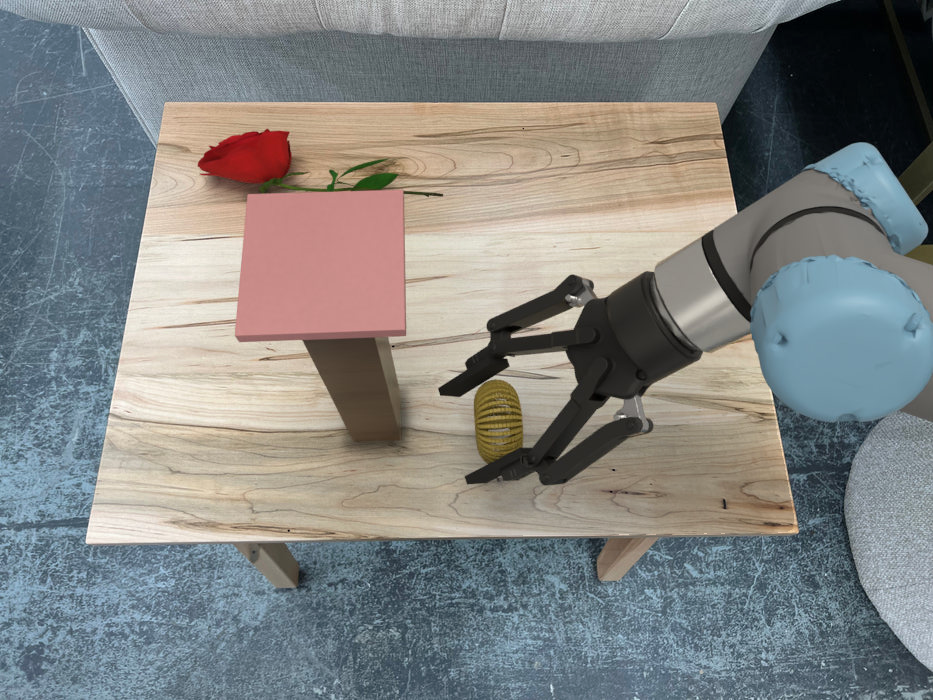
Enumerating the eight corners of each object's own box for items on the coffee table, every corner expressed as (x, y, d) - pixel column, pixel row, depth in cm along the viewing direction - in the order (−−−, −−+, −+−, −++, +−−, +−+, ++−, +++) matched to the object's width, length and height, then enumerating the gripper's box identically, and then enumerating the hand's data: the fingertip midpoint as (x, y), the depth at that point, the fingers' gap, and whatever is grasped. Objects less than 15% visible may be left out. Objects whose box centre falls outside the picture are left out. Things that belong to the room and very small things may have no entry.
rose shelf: (406, 336, 41) (405, 329, 40) (239, 342, 41) (234, 335, 40) (404, 198, 45) (403, 189, 44) (251, 202, 45) (247, 193, 44)
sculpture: (520, 474, 64) (529, 453, 57) (478, 478, 64) (481, 456, 57) (511, 394, 68) (518, 364, 60) (470, 397, 67) (473, 367, 60)
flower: (442, 135, 73) (180, 111, 77) (432, 224, 74) (173, 196, 78) (455, 153, 82) (220, 131, 86) (446, 232, 83) (213, 207, 87)
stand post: (401, 439, 72) (365, 301, 42) (353, 441, 72) (283, 303, 42) (400, 394, 74) (366, 232, 44) (354, 396, 73) (287, 234, 44)
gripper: (761, 444, 48) (523, 542, 61) (647, 209, 56) (457, 340, 69) (719, 444, 43) (467, 553, 55) (600, 183, 50) (402, 331, 63)
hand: (462, 435), depth 62 cm, fingers closed on sculpture, 8 cm apart
